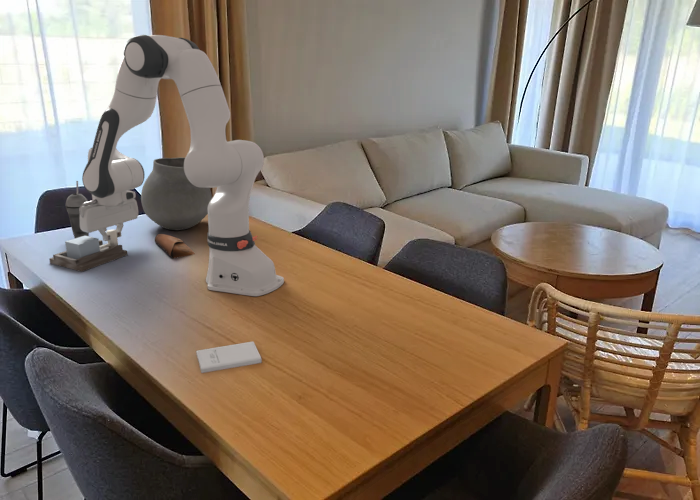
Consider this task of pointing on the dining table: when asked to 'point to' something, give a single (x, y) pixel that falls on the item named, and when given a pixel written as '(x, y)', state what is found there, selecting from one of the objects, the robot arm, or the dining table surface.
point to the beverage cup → (75, 212)
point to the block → (88, 245)
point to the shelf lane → (89, 258)
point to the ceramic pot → (173, 196)
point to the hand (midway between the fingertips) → (112, 238)
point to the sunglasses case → (173, 246)
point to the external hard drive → (228, 357)
